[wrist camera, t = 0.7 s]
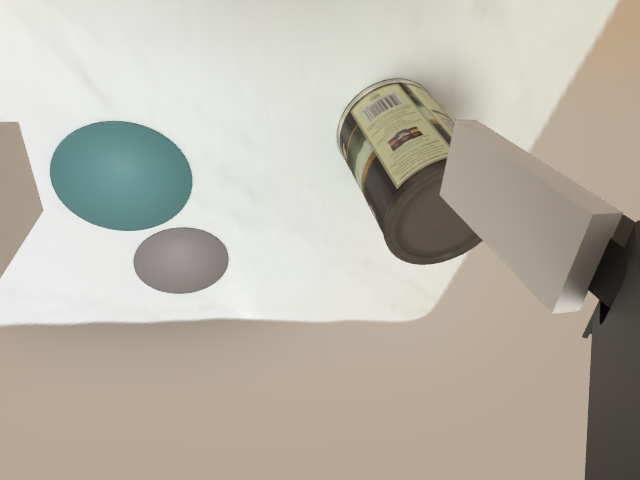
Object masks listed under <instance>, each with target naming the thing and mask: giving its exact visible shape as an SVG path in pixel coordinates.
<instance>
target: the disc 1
mask: <svg viewBox="0 0 640 480" xmlns="http://www.w3.org/2000/svg"><path fill="white" fill-rule="evenodd" d="M50 178H51V182H52V186H53V188H54V190H55V192H56V194H57V196H58V197H59V199H60V200H61V201H62V202H63V204H64V205H65V206H66V207H67V208H68V209H69V210H70V211H72V212H73V213H74V214H76V215H77V216H79V217H80V218H82V219H84V220H85V221H88V222H90V223H92V224H95V225H97V226H100V227H104V228H108V229H113V230H122V231H136V230H144V229H148V228H152V227H155V226H158V225H160V224H163V223H165V222H167V221H168V220H170V219H172V218H173V217H174V216H175V215H177V214H178V213H179V212H180V211H181V210H182V208H183V207H184V206H185V204H186V203H187V201H188V199H189V196H190V193H191V188H192V175H191V170H190V167H189V164H188V162H187V160H186V158H185V156H184V155H183V154H182V152H181V151H180V150H179V149H178V148H177V146H176V145H175V144H174V143H172V142H171V141H170V140H169V139H168V138H166V137H165V136H163V135H161V134H160V133H158V132H156V131H154V130H152V129H150V128H147V127H144V126H141V125H137V124H133V123H127V122H115V121H111V122H100V123H95V124H91V125H88V126H85V127H82V128H80V129H78V130H76V131H74V132H73V133H71V134H70V135H68V136H67V137H66V138H65V139H64V140H63V141H62V142H61V143H60V144H59V146H58V147H57V149H56V150H55V152H54V154H53V157H52V161H51V166H50Z"/></svg>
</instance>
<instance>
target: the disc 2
mask: <svg viewBox="0 0 640 480" xmlns="http://www.w3.org/2000/svg"><path fill="white" fill-rule="evenodd" d="M227 266H228V253H227V250H226V248H225V246H224V245H223V244H222V242H221V241H220V240H218V239H217V238H216V237H215V236H213V235H211V234H209V233H207V232H204V231H201V230H198V229H192V228H174V229H168V230H164V231H161V232H158V233H156V234H154V235H152V236H150V237H149V238H147V239H146V240H145V241H144V242H143V243H142V244H141V245H140V246H139V247H138V249H137V251H136V253H135V256H134V268H135V271H136V273H137V275H138V277H139V278H140V279H141V280H142V281H143V282H144V283H145V284H147V285H148V286H150V287H152V288H154V289H156V290H159V291H162V292H167V293H175V294H183V293H191V292H196V291H199V290H202V289H205V288H207V287H209V286H211V285H212V284H214V283H215V282H217V281H218V280H219V279H220V278H221V277H222V276H223V274H224V273H225V271H226V269H227Z"/></svg>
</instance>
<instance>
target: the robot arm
mask: <svg viewBox="0 0 640 480" xmlns="http://www.w3.org/2000/svg"><path fill="white" fill-rule="evenodd" d="M440 196H441V197H442V198H443V199H444V200H445V201H446V202H447V203H448V205H449V206H450V207H451V208H452V209H453V210H454V211H455V212H456V213H457V214H458V215H459V216H460V217H461V218H462V219H463V220H464V221H465V222H466V223H467V225H468V226H469V227H470V228H471V229H472V230H473V231H474V232H475V233H476V234H477V235H478V236H479V237H480V238H481V239H482V240H483V241H484V242H485V243H486V244H487V245H488V247H489V248H490V249H491V250H492V251H493V252H494V253H495V254H496V255H497V256H498V257H499V258H500V259H501V260H502V261H503V262H504V263H505V264H506V266H507V267H508V268H509V269H510V270H511V271H512V272H513V273H514V274H515V275H516V276H517V277H518V278H519V279H520V280H521V281H522V282H523V283H524V285H525V286H526V287H527V288H528V289H529V290H530V291H531V292H532V293H533V294H534V295H535V296H536V297H537V298H538V299H539V300H540V301H541V302H542V303H543V305H544V306H545V307H546V308H547V309H548V310H549V311H550V312H551V313H553V314H554V313H563V312H573V311H579V310H580V308H581V306H582V303H583V301H584V299H585V297H586V295H587V292H588V290H589V291H590V292H591V293H593V294H594V295H595V296H596V297H597V298H598V299H599V302H598V304H597V306H596V308H595V311H594V313H593V315H592V317H591V319H590V321H589V323H588V325H587V328H586V329H585V332H584V334H583V336H582V337H584V338H588V336H589V334H592V346H591V366H590V386H589V407H588V426H587V427H588V428H587V446H586V448H587V449H586V466H585V480H640V221H637V222H634V221H632V220H631V219H629V218H628V217H626V216H625V215H623V212H621V211H620V210H618V209H617V208H615V207H614V206H612V205H610V204H609V203H607V202H606V201H604V200H602V199H601V198H599V197H598V196H596V195H594V194H593V193H591V192H590V191H588V190H586V189H585V188H583V187H582V186H580V185H579V184H577V183H575V182H574V181H572V180H571V179H569V178H567V177H566V176H564V175H563V174H561V173H560V172H558V171H556V170H555V169H553V168H552V167H550V166H548V165H546V164H545V163H543V162H542V161H540V160H539V159H537V158H536V157H534V156H532V155H531V154H529V153H528V152H526V151H525V150H523V149H521V148H520V147H518V146H517V145H515V144H513V143H512V142H510V141H509V140H507V139H505V138H504V137H502V136H501V135H499V134H498V133H496V132H494V131H493V130H491V129H490V128H488V127H486V126H485V125H483V124H482V123H480V122H478V121H477V120H455V124H454V129H453V134H452V138H451V143H450V148H449V152H448V157H447V162H446V166H445V171H444V176H443V181H442V185H441V190H440ZM42 212H43V207H42V204H41V200H40V197H39V193H38V190H37V186H36V183H35V179H34V176H33V172H32V169H31V165H30V162H29V158H28V155H27V151H26V148H25V144H24V140H23V137H22V133H21V130H20V126H19V123H18V122H0V278H1V276H2V275H3V273H4V271H5V270H6V268H7V267H8V265H9V264H10V262H11V260H12V259H13V257H14V256H15V254H16V253H17V251H18V249H19V248H20V246H21V245H22V243H23V242H24V240H25V238H26V237H27V235H28V234H29V232H30V231H31V229H32V227H33V226H34V224H35V223H36V221H37V220H38V218H39V216H40V215H41V213H42Z"/></svg>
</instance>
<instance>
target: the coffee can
mask: <svg viewBox="0 0 640 480" xmlns="http://www.w3.org/2000/svg"><path fill="white" fill-rule="evenodd" d="M454 124H455V123H454V122H453V121H452V120H451V119H450V117H449V116H448V115H447V114H446V113H445V112H444V111H443V110H442V109H441V108H440V106H439V105H438V104H437V103H436V102H435V101H434V100H433V99H432V98H431V96H430V95H429V93H428V92H427V91H426V90H425V89H424V88H423V87H422V86H421V85H419V84H417V83H415V82H412V81H409V80H404V79H391V80H385V81H382V82H379V83H377V84H375V85H372V86H370V87H369V88H367V89H365V90H364V91H362V92H361V93H360V94H359V95H358V96H356V97H355V98H354V99H353V101H352V102H351V103H350V104H349V105H348V107H347V108H346V110H345V112H344V113H343V115H342V117H341V120H340V123H339V127H338V132H337V142H338V147H339V150H340V152H341V154H342V156H343V157H344V159H345V160H346V162H347V164H348V166H349V168H350V170H351V171H352V174H353V175H354V177H355V179H356V181H357V183H358V185H359V187H360V189H361V191H362V193H363V195H364V197H365V199H366V201H367V203H368V205H369V207H370V209H371V211H372V213H373V215H374V217H375V219H376V220H377V222H378V224H379V226H380V229H381V230H382V232H383V235H384V239H385V241H386V244H387V246H388V248H389V250H390V251H391V252H392V253H393V254H394V255H395V256H396V257H397V258H399V259H401V260H403V261H405V262H408V263H412V264H419V265H427V264H435V263H440V262H444V261H447V260H450V259H453V258H455V257H457V256H460V255H462V254H464V253H466V252H467V251H469V250H471V249H472V248H474V247H475V246H477V245H478V244H479V243H480V242H482V241H483V240H482V239H481V238H480V237H479V236H478V235H477V234H476V233H475V232H474V231H473V230H472V229H471V228H470V227H469V226H468V225H467V223H466V222H465V221H464V220H463V219H462V218H461V217H460V216H459V215H458V214H457V213H456V212H455V211H454V210H453V209H452V208H451V207H450V206H449V205H448V203H447V202H446V201H445V200H444V199H443V198H442V197H441V196H440V190H441V185H442V181H443V176H444V171H445V166H446V162H447V157H448V152H449V148H450V143H451V138H452V134H453V129H454Z"/></svg>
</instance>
